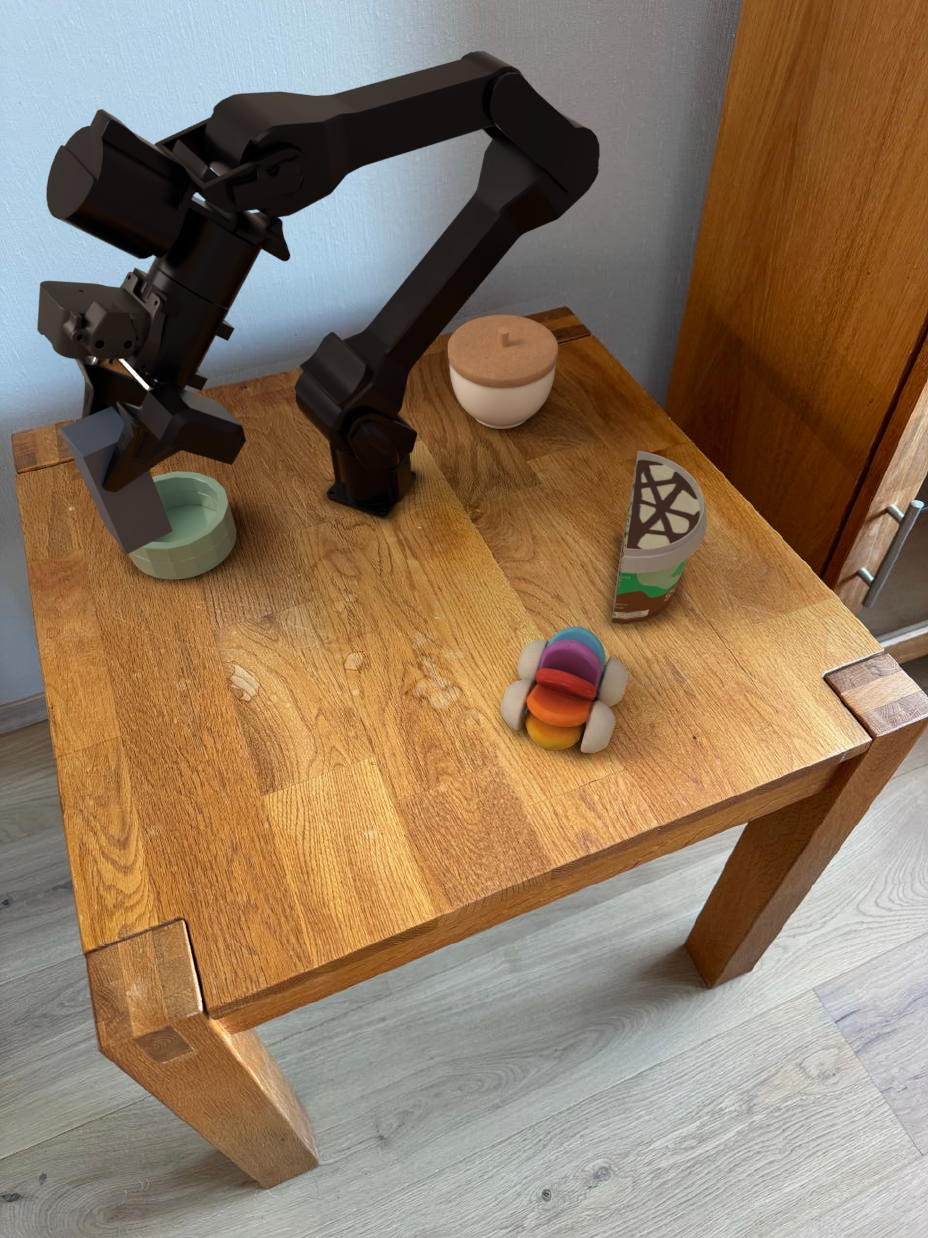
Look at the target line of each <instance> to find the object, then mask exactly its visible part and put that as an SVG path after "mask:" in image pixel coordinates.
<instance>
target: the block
mask: <svg viewBox="0 0 928 1238" xmlns="http://www.w3.org/2000/svg"><path fill="white" fill-rule="evenodd" d="M123 427H124V423H123V420H122V417H121V416H120V415H119V414H118V413H117V412H116V410H115V409H114V408H113V407H112V406H111V407H108V408H106V409H104V410H102V411H99V412H97V413H95V414H92V415H90V416H88V417H85V418H83V419H82V418H81V419H79V420H76V421H74V422H72V423H70V424H67V425H65V426H62V427H60V428H59V429H60V432H61V434H62V437H63V439H64V441H65V442H66V445H67V447H68V449H69V451H70V454H71V456H72V458H73V460H74V462H75V464H76V466H77V469H78V471H79V474H80V476H81V477H82V479H83V482H84V484H85V486H86V489H87V490H88V492H89V495H90V497H91V499H92V501H93V503H94V506H95V507H96V510H97V512H98V514H99V516H100V519H101V521H102V523H103V525H104V527H105V528H106V529H107V531H108V532H109V534H110V535H111V536H112V538H113V539H114V540H115V542H116V543H117V544H118V546H119V547H120V548H121V549H122V551H123V552H124V554H126V555H128V554H129V553H131V552H133V551H135V550H137V549H139V548H141V547H143V546H145V545H147V544H149V543H151V542H152V541H154V540H156V539H158V538H160V537H162V536H164V535H166V534H168V533H170V532H172V528H171V525H170V523H169V520H168V517H167V515H166V512H165V509H164V507H163V504H162V502H161V499H160V496H159V494H158V491H157V488H156V486H155V483H154V481H153V478H152V477H153V476H152V472H151V469H150V470H148V471H147V472H145V473H144V474H143V475H141V476H140V477H138V478H137V479H135V480H134V481H132V482H131V483H129V484H128V485H126V486H125V487H123V488H122V489H120V490H119V491H117V492H109V491H105V490H104V489H103V488H102V483H103V480H104V477H105V473H106V470H107V467H108V465H109V462H110V460H111V457H112V455H113V452H114V450H115V447H116V445H117V442H118V440H119V437H120V435H121V432H122V430H123Z"/></svg>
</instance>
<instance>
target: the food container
mask: <svg viewBox="0 0 928 1238" xmlns="http://www.w3.org/2000/svg"><path fill="white" fill-rule="evenodd" d="M707 522H708V521H707V505H706V501H705V497H704V495H703V492H702V490H701V487H700V485H699V484H698V482H697V481H696V480H695V478H694V477H693V476H692V474H690V473H689V472H688V471H687V470H686V469H685V468H684V467H682V466H680V465H679V464H678V463H676V462H674V461H672V460H670V459H669V458H667V457H664V456H662V455H659V454H656V453H651V452H648V451H643V450H637V454H636V459H635V464H634V472H633V477H632V483H631V489H630V495H629V500H628V505H627V511H626V517H625V523H624V529H623V534H622V540H621V546H620V553H619V562H618V567H617V568H618V569H617V576H616V583H615V584H616V585H615V591H614V592H615V593H614V599H613V607H612V614H611V621H610V623H611V624H621V625H622V624H623V625H625V624H632V623H633V624H635V623H641V622H642V623H643V622H645V621H648V620H649V619H652V618H654V617H656V616H658V615H660V614H661V613H662V612H663V611H664V610H666V608H667V607H669V605H670V603H671V601H672V599H673V597H674V595H675V592H676V590H677V588H678V585H679V582H680V579H681V576H682V574H683V571H684V569H685V566H686V563H687V561H688V559H689V558H690V557H692V555H694V553H696V552H697V551H698V549H699V548H700V547H701V545H702V544H703V542H704V540H705V539H704V538H705V537H706V532H707V528H708V527H707V526H708V525H707V524H708V523H707Z"/></svg>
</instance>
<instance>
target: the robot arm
mask: <svg viewBox="0 0 928 1238" xmlns="http://www.w3.org/2000/svg"><path fill="white" fill-rule="evenodd" d="M478 131H483V133H484V134H486V135H487V137H489V138H490V139H491V141H490V142H489V144H488V146H487V148H486V149H485V151H484V153H483V156H482V163H481V167H480V170H479V176H478V181H477V187H476V190H475V191H474V193H473V195H472V196H471V197H470V199H469V200H468V201H467V203H465V205H464V206H463V207H462V208H461V210H460V211H459V212H458V213H457V215H456V216H455V217H454V219H453V220H452V221H451V222H450V224H449V225H448V226H447V227H446V229H445V230H444V231H443V232H442V233H441V235H440V236H439V237H438V238H437V240H436V241H435V242H434V243H433V244H432V246H431V247H430V248H429V250H428V251H427V252H426V254H425V255H424V256H423V257H422V258H421V259H420V260H419V262H418V263H417V265H415V266H414V268H413V269H412V270H411V272H410V273H409V275H407V277H406V278H405V279H404V281H402V283H401V285H400V286H399V287H398V288H397V289H396V291H395V292H394V293H393V295H392V296H391V297H390V298H389V300H387V302H386V303H385V305H384V306H383V307H382V308H381V310H380V311H379V312H378V313H377V314H376V315H375V317H374V318H373V319H372V321H371V322H370V323H369V325H368V326H367V327H365V328H364V329H363V330H362V331H361V332H359V333H356V334H353V335H351V336H349V337H346V338H344V339H342V338H341V336H339V335H338V334H336V333H335V331H330V332H329V333H328V334H327V335H325V336H324V337H323V339H322V340H321V341H320V343H319V345H318V346H317V349H316V350H315V351H314V353H313V354H312V355H311V356H310V357H309V358H308V359H307V360H305V361H304V362H302V363H301V364H299V368H300V370H302V372H301V374H300V376H299V377H298V378H297V380H296V383H295V385H294V391H295V403H296V406H297V408H298V410H299V411H300V412H301V413H302V414H303V416H304V417H306V418H307V420H308V421H309V422H310V423H311V424H312V425H313V426H314V427H315V428H316V429H317V430H318V432H320V434H321V435H322V436H323V437H324V438H325V439H326V440H327V442H328V445H329V452H330V457H331V463H332V469H333V476H334V477H333V478H334V483H333V484H332V485H331V486H330V488H328V490H327V491H326V498H327V499H329V500H331V501H333V502H336V503H339V504H342V505H344V506H347V507H349V508H353V509H355V510H358V511H360V512H364V513H366V514H368V515H372V516H374V517H376V518H377V517H378V518H381V519H385V518H387V517H388V516H389V515H390V513H391V512H392V511H393V510H394V509H395V507H396V506H397V505H398V504H399V503H400V502H401V501H403V499H404V498H405V497H406V495H407V494H408V493H409V491H410V490H411V489H412V487H413V484H414V483H415V481H416V480H417V479H418V475H417V472H416V471H415V470H412V463H411V461H412V460H411V455H410V454H412V453H413V451H414V448H415V445H416V441H417V437H418V432H417V431H416V430H415V429H414V428H413V426H411V425H410V424H409V423H408V422H407V421H406V420H405V419H404V418H403V417H402V416H401V415H400V414H399V413H400V411H401V410H402V407H403V403H404V400H405V394H406V389H407V385H408V379H409V374H410V372H411V370H412V369H413V367H414V366H415V365H416V364H417V362H418V361H420V359H421V357H422V356H423V355H424V354H425V353H426V351H428V349H429V348H430V347H431V345H432V344H433V343H434V342H435V341H436V340H437V338H438V337H439V336H440V334H441V333H442V332H443V331H444V330H445V328H446V327H447V326H448V325H449V323H450V322H451V321H452V320H453V318H454V317H455V316H456V315H457V314H458V312H460V310H461V309H462V308H463V306H464V305H465V304H466V303H467V302H468V300H469V299H470V298H471V297H472V296H473V295H474V293H475V292H476V291H477V290H478V289H479V287H480V286H481V284H483V282H484V281H485V280H486V279H487V277H488V276H489V275H490V274H491V272H492V271H493V270H494V269H495V268H496V266H497V265H499V263H500V261H502V259H503V258H504V257H505V256H506V254H507V253H508V252H509V251H510V249H511V248H512V247H513V246H514V245H515V244H516V242H517V241H518V240H519V239H520V238H521V237H522V236H523V235H525V234H527V233H529V232H531V231H534V230H536V229H539V228H540V227H543V226H545V225H548V224H551V223H552V222H554V221H557V220H559V219H560V218H561V217H562V216H564V214H566V212H567V211H569V210H570V208H572V207H573V206H574V205H575V204H576V203H577V202H578V201H579V200H580V199H581V198H583V196H584V195H586V193H587V192H588V191H589V190H590V188H591V187H592V185H593V184H594V183H595V181H596V179H597V178H598V175H599V172H600V170H599V167H600V157H601V153H600V152H601V150H600V149H601V148H600V145H601V144H600V142H599V140H598V139H599V138H598V137H597V134H596V133H595V132H594V131H593V130H592V129H591V128H589V127H588V126H586V125H584V124H582V123H580V122H578V121H577V120H574V119H573V118H571V117H570V116H567V115H566V114H564V113H562V112H560V111H559V110H557V109H556V108H555V107H554V106H553V105H551V103H550V102H548V101H547V100H546V99H545V98H544V97H543V96H542V95H541V94H539V92H537V91H536V89H535V88H534V87H533V86H532V85H531V84H530V83H529V81H528V80H527V79H526V78H525V76H524V75H523V73H522V72H521V70H520V69H518V68H517V67H514V66H513V65H511V64H509V63H507V62H506V61H504V60H502V59H500V58H498V57H496V56H495V55H492V54H490V53H488V52H487V51H485V50H475V51H469V52H468V53H466V54H464V55H463V56H462V57H461V58H460V59H456V60H453V61H449V62H446V63H445V62H444V63H442V64H439V65H435V66H432V67H427V68H424V69H420V70H416V71H412V72H409V73H406V74H402V75H398V76H395V77H391V78H388V79H384V80H380V81H377V82H376V81H375V82H372V83H369V84H366V85H362V86H359V87H355V88H351V89H347V90H344V91H340V92H336V93H333V94H322V95H321V94H320V95H319V94H318V95H313V94H306V93H297V92H288V91H262V92H243V93H235V94H232V95H229V96H227V97H225V98H223V99H221V100H220V101H218V103H216V104H215V105H214V107H213V109H212V113H211V115H210V117H208V118H205V119H203V120H201V121H199V122H197V123H194V124H193V125H190V126H188V127H186V128H184V129H182V130H180V131H177V132H176V133H173V134H171V135H169V136H167V137H165V138H162V139H161V140H158V141H156V142H155V143H152V142H150V141H148V140H147V139H146V138H143V137H142V136H141V135H139V134H137V133H136V132H135V131H132V130H131V129H130V128H129V127H128V126H127V125H126V124H125V123H124V122H122V121H121V120H120V119H119V118H118V117H116V116H115V115H113V114H111V113H110V112H108V111H106V110H104V109H103V108H100V109H97V111H96V112H95V114H94V116H93V119H92V121H91V122H90V125H86V126H82V127H81V128H80V129H78V130H76V131H75V132H74V133H73V134H72V135H71V136H70V137H69V138H68V140H67V141H66V143H65V144H64V145H63V144H60V146H58V149H57V151H56V153H55V155H54V158H53V159H52V163H51V166H50V169H49V172H48V176H47V181H46V197H45V198H46V205H47V208H48V211H49V213H50V215H51V216H52V217H53V218H55V219H57V220H59V221H61V222H63V223H65V224H67V225H69V226H71V227H73V228H75V229H77V230H79V231H81V232H83V233H85V234H87V235H89V236H91V237H93V238H95V239H98V240H100V241H102V242H104V243H106V244H107V245H109V246H112V247H113V248H116V249H118V250H120V251H122V252H124V253H126V254H127V255H130V256H132V257H134V258H136V259H138V260H146V259H148V258H150V257H153V256H154V259H153V260H152V263H151V265H150V267H149V269H148V271H147V272H145V271H144V270H141V269H139V268H137V267H134V268H133V271H129V272H127V274H126V275H125V277H124V279H123V282H122V283H121V285H120V286H119V287H118V286H110V285H104V284H100V283H94V282H93V283H91V282H76V281H62V280H61V281H60V280H43V281H41V282H40V283H39V291H38V292H39V293H38V294H39V295H38V309H37V310H38V311H37V324H36V325H37V326H36V330H37V332H38V333H39V335H41V336H44V337H45V338H46V339H47V341H48V342H49V343H51V346H52V349H53V351H54V352H55V353H56V354H58V355H59V356H61V357H63V358H66V359H70V360H75V362H76V365H77V367H78V369H79V370H80V373H81V375H82V377H83V379H84V391H83V406H82V412H81V419H83V418H85V417H88V416H90V415H92V414H95V413H97V412H99V411H102V410H104V409H106V408H108V407H111V406H112V407H113V408H114V409H115V410H116V412H117V413H118V414H119V415H120V416H121V417H122V420H123V423H124V427H123V430H122V432H121V435H120V437H119V440H118V442H117V445H116V447H115V450H114V452H113V455H112V457H111V460H110V462H109V465H108V467H107V470H106V473H105V477H104V480H103V483H102V488H103V489H104V490H105V491H109V492H117V491H119V490H120V489H122V488H123V487H125V486H126V485H128V484H129V483H131V482H132V481H134V480H135V479H137V478H138V477H140V476H141V475H143V474H144V473H145V472H147V471H148V470H150V471H151V470H152V469H153V468H154V467H156V466H157V465H159V464H161V463H162V462H163V461H166V460H167V459H169V458H171V457H173V456H175V455H176V454H178V453H180V452H186V453H190V454H192V455H196V456H200V457H203V458H207V459H210V460H213V461H217V462H220V463H222V464H226V465H229V466H233V464H234V463H235V461H236V459H237V457H238V456H239V455H240V452H241V450H242V448H243V447H244V446H245V444H246V442H247V438H246V435H245V431H244V427H243V424H242V423H240V422H239V421H238V420H237V419H236V418H235V417H234V415H232V414H231V413H230V412H229V411H228V409H226V408H225V407H224V406H223V405H222V404H221V403H220V402H219V401H217V400H215V399H212V398H210V397H206V396H203V395H200V394H198V393H196V392H192V391H189V390H186V387H187V386H188V387H190V388H193V389H195V390H198V391H200V392H201V391H203V388H204V387H205V385H206V383H207V381H208V377H206V375H205V374H204V373H203V372H202V371H201V370H200V367H201V366H202V363H203V362H204V360H205V357H206V355H207V354H208V352H209V350H210V348H211V347H212V344H213V343H214V341H215V338H216V337H218V338H221V339H223V340H225V341H226V342H229V340H230V339H231V337H232V334H233V333H234V331H235V329H236V328H235V327H234V326H232V324H231V323H229V322H228V321H227V320H226V318H227V316H228V314H229V312H230V310H231V309H232V306H233V304H234V303H235V301H236V299H237V297H238V295H239V293H240V291H241V289H242V287H243V285H244V284H245V282H246V280H247V278H248V277H249V274H250V272H251V270H252V268H253V267H254V264H255V263H256V260H257V259H258V257H259V255H260V253H261V251H264V252H265V253H267V254H269V255H271V256H273V257H274V258H276V259H278V260H280V261H282V262H288V261H289V260H290V259H291V252H290V250H289V246H288V243H287V241H286V238H285V235H284V223H283V220H282V219H281V218H284V217H289V216H292V215H294V214H296V213H298V212H301V211H302V210H304V209H306V208H308V207H310V206H312V205H313V204H315V203H317V202H319V201H321V200H322V199H325V198H326V197H328V196H330V195H331V194H332V193H334V191H335V190H336V189H337V188H338V186H339V185H340V183H342V182H343V180H345V178H346V177H347V176H348V175H349V174H351V173H353V172H355V171H357V170H359V169H361V168H362V167H365V166H369V165H372V164H376V163H378V162H381V161H382V162H383V161H385V160H388V159H392V158H394V157H398V156H400V155H401V156H402V155H404V154H408V153H410V152H411V153H412V152H414V151H418V150H420V149H423V148H427V147H430V146H433V145H437V144H440V143H442V142H446V141H449V140H452V139H455V138H459V137H462V136H464V135H468V134H472V133H475V132H478ZM196 194H198V195H199V197H201V198H202V199H204V200H202V199H201V198H199V197H196V196H195V195H196ZM250 211H256V212H250Z"/></svg>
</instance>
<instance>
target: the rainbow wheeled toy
mask: <svg viewBox="0 0 928 1238" xmlns="http://www.w3.org/2000/svg"><path fill="white" fill-rule="evenodd" d="M606 659H607V658H606V652H605V649H604V646H603V643H602V641H601V640H600V639H599V637H598V636H597V635H596V634H595V633H593V631H591V630H589V629H588V628H585V627H583V626H575V625H574V626H569V627H565V628H563V629H561V630H559V631H557V632H556V633H555V634H554V635H553V636H552V637H550V639H546V638H539V639H535V640H532V641H530V642H528V643H527V644H525V645H524V647H523V648H522V650H521V651H520V654H519V657H518V661H517V665H516V672H517V674H518V677H519V678H520V679H519V680H517V681H514V682H512V683H511V684H510V685H509V686H507V688H506V690H505V692H504V695H503V698H502V699H501V705H500V713H501V716H502V718H503V720H504V721H505V723H506V724H507V726H508V727H510V728H511V729H513V730H514V731H516V732H519V731H520V730H521V729H522V728H523V726H524V725H525V727H526V730H527V733H528V736H529V737H530V739H531V740H532V741H533V742H534V744H536V745H537V746H538V747H540V748H541V749H543V750H547V751H561V750H566V749H569V748H570V747H572V746H574V745H575V744H576V743H578V742H579V741H580V738H581V735H582V733H583V730H584V728H585V730H584V733H583V737H582V742H581V745H580V751H581V752H582V753H584V754H593V753H598V752H600V751H603V750H604V749H605V748H607V747H608V746H609V743H610V742H611V738H612V736H613V732H614V729H615V727H616V726H615V725H616V721H617V720H616V717H615V715H614V712H613V711H612V709H611V708H610V707H613V706H615V705H617V704H618V703H620V702H621V701H622V700H623V697H624V695H625V691H626V688H627V684H628V681H629V678H630V675H629V673H628V670H627V668H626V666H625V665H624V664H623V663H622V662H621V661H620V660H619V659H618V658H616V657H615V656H611V655H610V656H609V658H608V660H607V662H606ZM595 698H596V700H595ZM594 700H595V701H594Z"/></svg>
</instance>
